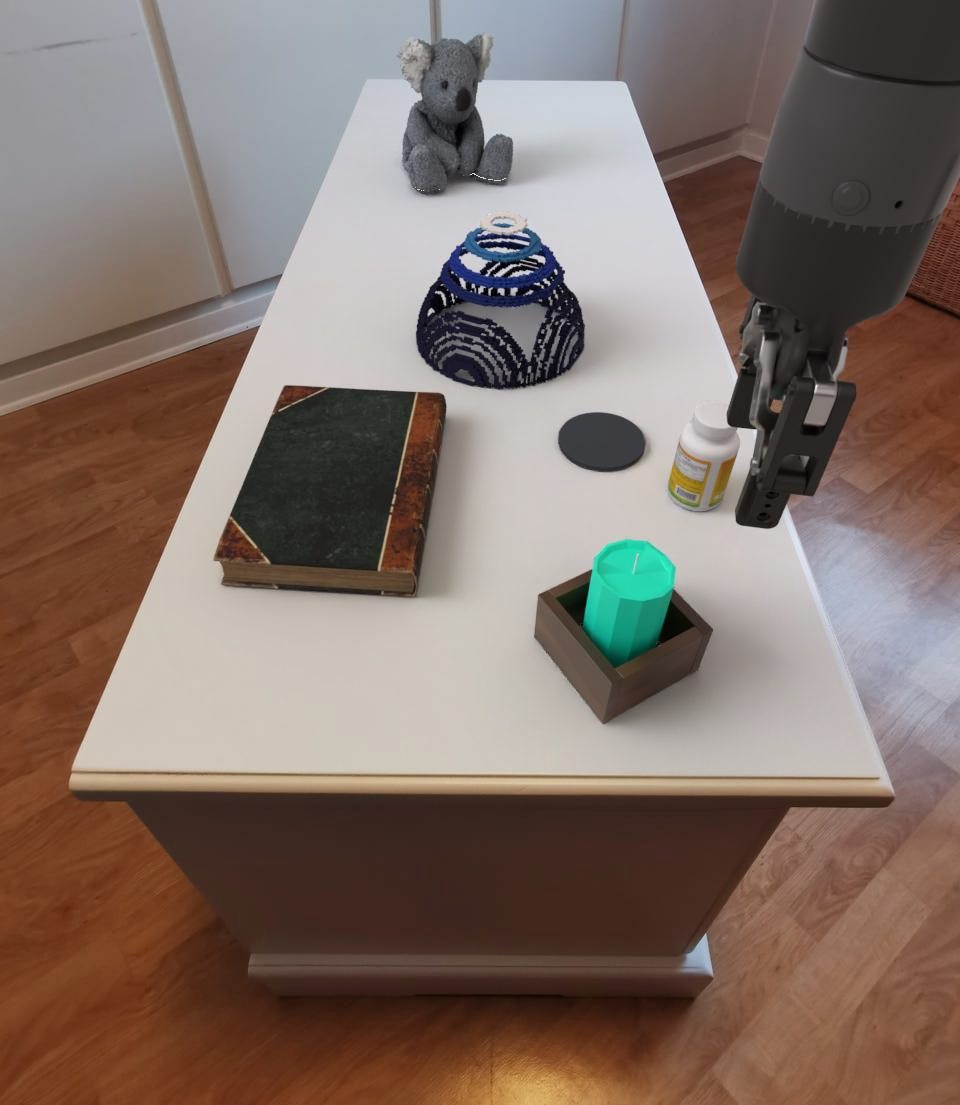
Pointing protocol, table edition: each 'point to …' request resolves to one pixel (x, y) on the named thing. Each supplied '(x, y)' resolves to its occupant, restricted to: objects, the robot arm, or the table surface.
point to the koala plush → (449, 114)
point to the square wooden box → (594, 673)
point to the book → (337, 493)
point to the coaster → (601, 441)
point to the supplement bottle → (704, 458)
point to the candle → (628, 599)
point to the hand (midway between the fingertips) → (748, 470)
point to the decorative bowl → (495, 299)
